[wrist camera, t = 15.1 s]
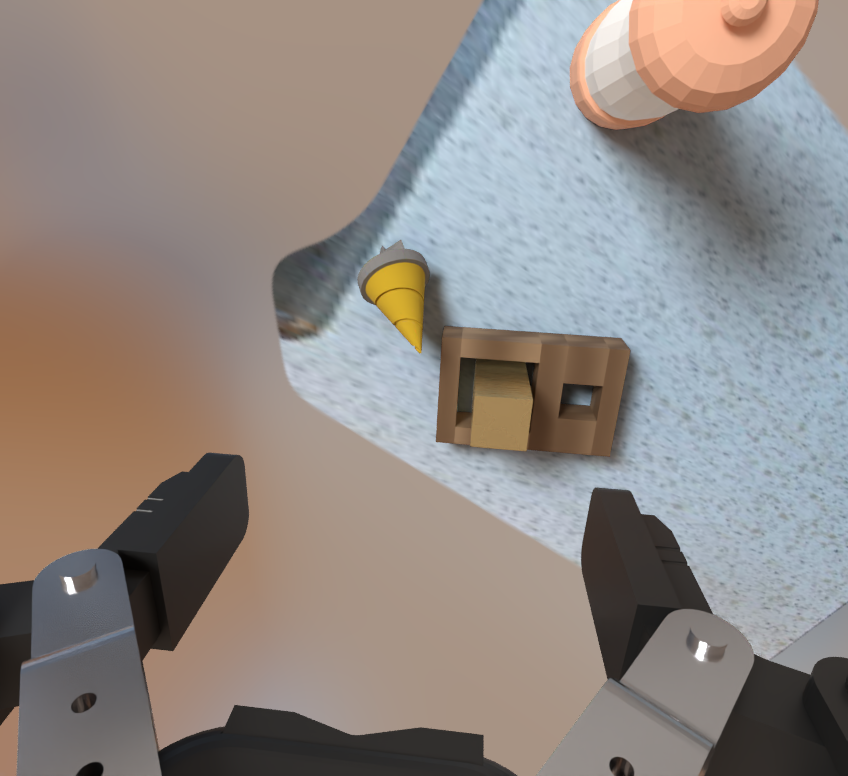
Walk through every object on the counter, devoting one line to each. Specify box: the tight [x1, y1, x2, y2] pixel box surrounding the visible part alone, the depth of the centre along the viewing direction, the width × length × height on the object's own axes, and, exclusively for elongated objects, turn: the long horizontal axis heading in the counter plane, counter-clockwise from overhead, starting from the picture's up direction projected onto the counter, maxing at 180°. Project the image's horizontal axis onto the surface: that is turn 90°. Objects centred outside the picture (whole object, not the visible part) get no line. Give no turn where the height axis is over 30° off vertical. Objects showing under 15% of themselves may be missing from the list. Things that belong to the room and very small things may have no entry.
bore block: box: [436, 326, 630, 457], centre depth 45 cm, size 14×9×3 cm, turn 88°
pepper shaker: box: [570, 0, 818, 130], centre depth 29 cm, size 7×7×19 cm
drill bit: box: [358, 240, 430, 353], centre depth 42 cm, size 5×5×10 cm
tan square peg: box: [470, 358, 533, 451], centre depth 43 cm, size 4×4×8 cm
